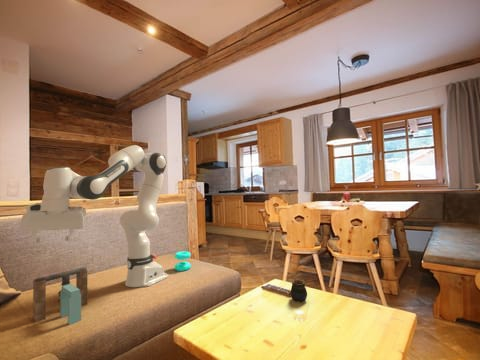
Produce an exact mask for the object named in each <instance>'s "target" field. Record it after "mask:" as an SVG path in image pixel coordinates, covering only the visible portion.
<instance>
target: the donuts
mask: <svg viewBox="0 0 480 360" xmlns="http://www.w3.org/2000/svg"><path fill="white" fill-rule="evenodd" d="M191 255H192V254H191V252H189V251H186V250H185V251H177V252H176V253H175V254H174V258H175V259H176V260H179V261H181V262H177V263H176V264H175V265H174V269H175V270H176V271H177V272H185V271H188V270H189V269H191V267H192V265H191V263H190V262H188V261H184V260H187V259H189V258H190V257H191Z"/></svg>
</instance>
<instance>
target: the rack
mask: <svg viewBox="0 0 480 360" xmlns="http://www.w3.org/2000/svg"><path fill="white" fill-rule="evenodd" d="M74 275H76V276H75V277H76V279H75V280H76V286H75V287H77V288H78V289H80V294H81V307H83V306H85V305H88V269H87V267H86V266H82V267H79V268H75V269H71V270H67V271H63V272H59V273H55V274H50V275H47V276H43V277H38V278H34V279H33V282H32V287H33V288H32V290H33V292H32V301H33V302H32V319H33V321H34V322H35V323H37V322H40V321H43V320H46V310H47V309H46V305H47V304H46V301H47V299H46V298H47V293H46V289H47V286H46V284H47V282H50V281H53V280H57V279H62V277H66V276H74Z"/></svg>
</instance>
